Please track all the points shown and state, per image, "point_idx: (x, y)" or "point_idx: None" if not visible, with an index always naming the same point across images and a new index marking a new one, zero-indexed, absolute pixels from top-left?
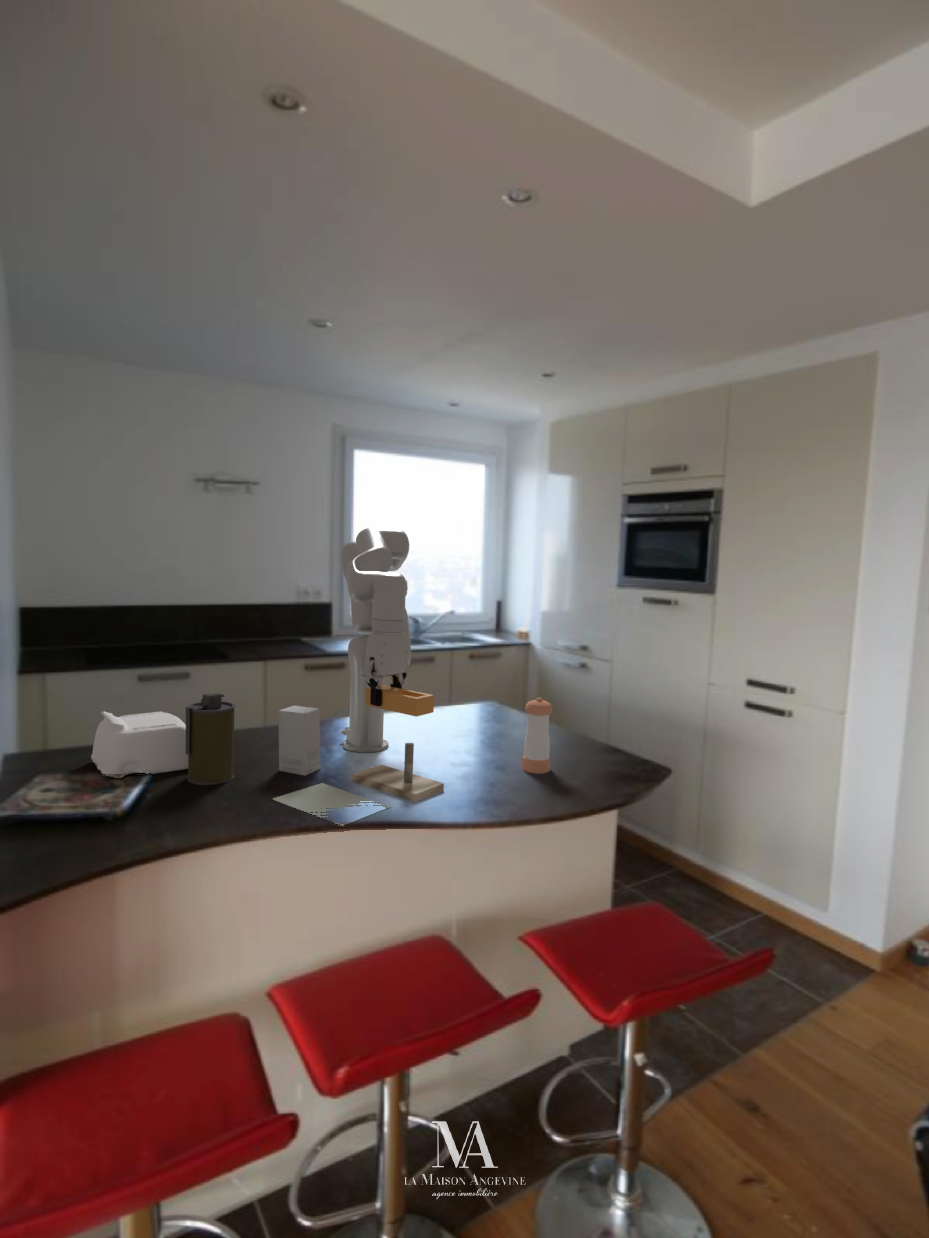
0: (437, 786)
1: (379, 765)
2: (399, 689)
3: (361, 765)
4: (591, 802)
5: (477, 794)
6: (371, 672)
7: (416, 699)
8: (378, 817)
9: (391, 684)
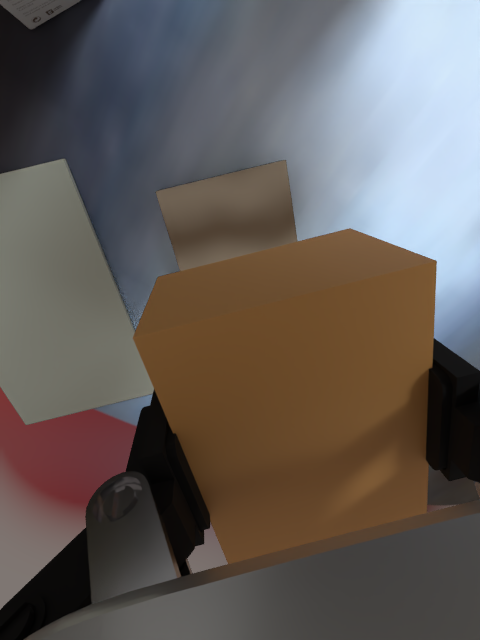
0: None
1: (274, 165)
2: (387, 493)
3: (270, 42)
4: (454, 498)
5: None
6: (161, 614)
7: None
8: (115, 411)
9: (455, 381)
